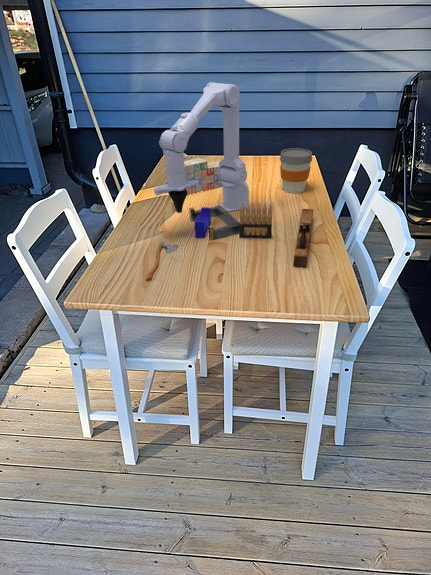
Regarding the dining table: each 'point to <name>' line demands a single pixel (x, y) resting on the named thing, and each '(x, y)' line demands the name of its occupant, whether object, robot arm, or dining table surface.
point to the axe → (168, 250)
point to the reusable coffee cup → (295, 169)
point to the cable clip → (202, 223)
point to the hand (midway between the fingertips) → (178, 211)
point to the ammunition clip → (256, 222)
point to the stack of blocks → (202, 174)
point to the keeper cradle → (222, 214)
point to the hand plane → (303, 239)
